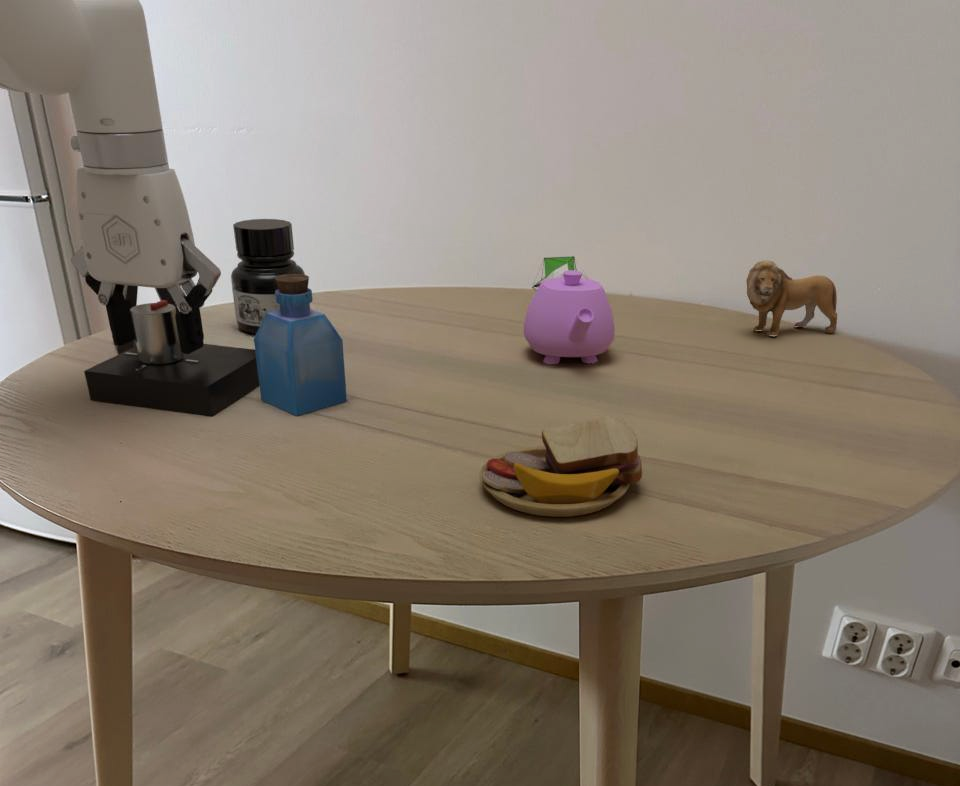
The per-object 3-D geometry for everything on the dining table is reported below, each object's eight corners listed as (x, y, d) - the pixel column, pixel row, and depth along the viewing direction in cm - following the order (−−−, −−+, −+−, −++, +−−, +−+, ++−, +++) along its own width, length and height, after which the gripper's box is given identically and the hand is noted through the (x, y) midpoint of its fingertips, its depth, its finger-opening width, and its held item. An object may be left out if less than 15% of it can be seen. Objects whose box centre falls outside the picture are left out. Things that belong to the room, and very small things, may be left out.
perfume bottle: (310, 386, 98) (300, 267, 91) (346, 401, 94) (338, 278, 88) (261, 399, 94) (246, 276, 88) (296, 415, 91) (283, 288, 84)
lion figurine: (752, 344, 113) (766, 266, 108) (727, 332, 117) (739, 257, 112) (848, 332, 117) (866, 257, 112) (820, 321, 121) (836, 248, 116)
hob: (90, 400, 94) (83, 369, 92) (157, 365, 103) (152, 336, 101) (212, 416, 90) (207, 384, 89) (270, 378, 100) (267, 349, 98)
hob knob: (167, 366, 93) (157, 312, 90) (130, 361, 94) (119, 308, 91) (191, 354, 97) (183, 302, 94) (156, 349, 98) (146, 298, 95)
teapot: (598, 338, 114) (605, 258, 109) (627, 377, 102) (636, 289, 96) (515, 339, 113) (518, 258, 108) (534, 379, 101) (538, 290, 95)
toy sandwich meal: (477, 458, 83) (478, 407, 80) (628, 459, 83) (633, 408, 80) (480, 522, 72) (481, 465, 69) (652, 522, 72) (659, 466, 70)
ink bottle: (220, 328, 115) (205, 225, 108) (269, 313, 121) (257, 214, 115) (279, 341, 111) (267, 234, 104) (326, 324, 117) (318, 222, 111)
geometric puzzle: (524, 283, 128) (536, 241, 120) (571, 281, 129) (586, 239, 122) (535, 326, 125) (548, 286, 118) (582, 323, 127) (598, 283, 119)
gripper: (17, 152, 84) (64, 347, 94) (183, 162, 80) (214, 366, 90) (71, 143, 90) (110, 328, 100) (228, 152, 86) (252, 344, 96)
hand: (159, 344), depth 95 cm, fingers open, 7 cm apart
